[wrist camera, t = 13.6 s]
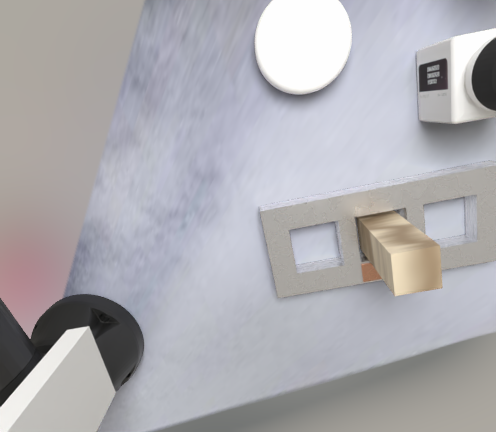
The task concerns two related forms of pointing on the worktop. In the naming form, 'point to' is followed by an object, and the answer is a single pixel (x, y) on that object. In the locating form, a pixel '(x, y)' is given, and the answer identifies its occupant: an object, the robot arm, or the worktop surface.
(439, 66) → the container
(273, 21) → the coaster
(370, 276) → the slotted peg board
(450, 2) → the worktop surface
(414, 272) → the beech peg
